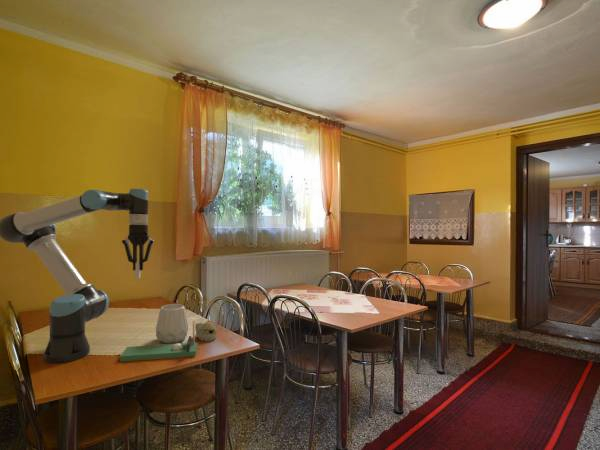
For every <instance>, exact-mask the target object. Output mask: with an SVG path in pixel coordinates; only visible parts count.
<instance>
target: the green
mask: <svg viewBox="0 0 600 450" xmlns="http://www.w3.org/2000/svg"><path fill="white" fill-rule="evenodd" d="M195 325H196V321H195V320H192V335H189V336H188V339H187V342H185V343H182V342H181V343H180V344H181V345H182V350H176V351H172V347H173V345H174V344H175V343H164V344H152V345H138V346H137V345H136V346H126V348H125V349H124V351H123V352H122V353H121V354H120V356H119V361H120V362H131V361H143V360H144V361H145V360H147V361H148V360H158V359H159V360H160V359H161V360H162V359H173V358H174V359H175V358H187V357H188V358H191V357H196V355H197V351H198V342H196V340H195V335H196V328H195Z"/></svg>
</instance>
